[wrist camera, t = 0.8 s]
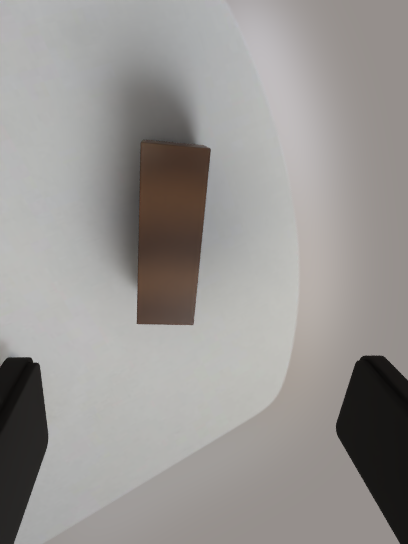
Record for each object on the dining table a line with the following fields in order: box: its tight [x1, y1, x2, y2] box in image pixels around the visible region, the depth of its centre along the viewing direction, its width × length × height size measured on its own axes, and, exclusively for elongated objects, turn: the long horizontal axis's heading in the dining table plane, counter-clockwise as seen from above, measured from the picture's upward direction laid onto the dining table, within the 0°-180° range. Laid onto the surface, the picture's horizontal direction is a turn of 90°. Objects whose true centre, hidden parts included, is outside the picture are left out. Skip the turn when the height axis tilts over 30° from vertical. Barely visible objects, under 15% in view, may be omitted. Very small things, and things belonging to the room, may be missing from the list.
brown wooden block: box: [137, 140, 211, 325], centre depth 23 cm, size 12×4×4 cm, turn 174°
